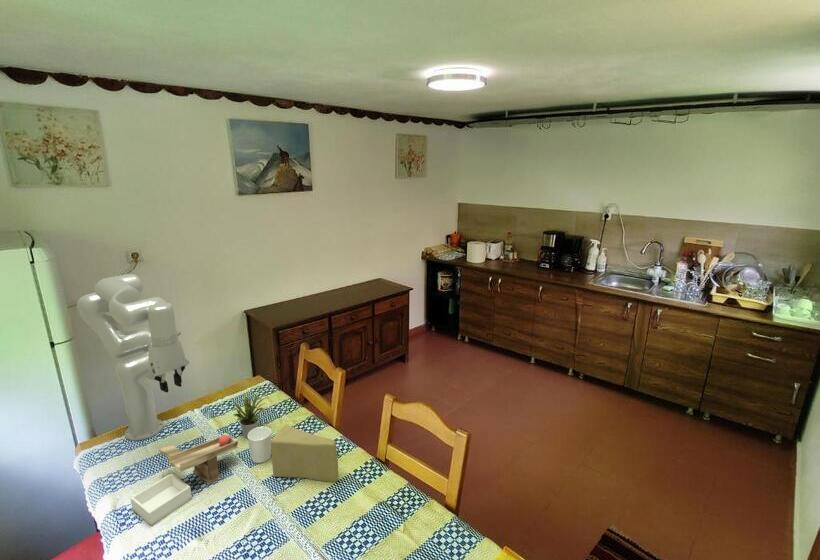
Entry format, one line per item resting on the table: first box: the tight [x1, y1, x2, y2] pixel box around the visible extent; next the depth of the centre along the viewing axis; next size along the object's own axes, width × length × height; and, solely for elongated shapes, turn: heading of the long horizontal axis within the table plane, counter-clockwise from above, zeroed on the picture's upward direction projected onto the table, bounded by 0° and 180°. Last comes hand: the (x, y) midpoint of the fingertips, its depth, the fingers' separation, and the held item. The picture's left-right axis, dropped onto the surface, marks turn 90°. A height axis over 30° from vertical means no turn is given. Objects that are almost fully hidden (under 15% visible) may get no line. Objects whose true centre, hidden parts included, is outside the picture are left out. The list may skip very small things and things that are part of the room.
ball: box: [219, 435, 230, 446], centre depth 142 cm, size 4×4×4 cm
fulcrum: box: [192, 455, 222, 485], centre depth 137 cm, size 10×4×9 cm, turn 59°
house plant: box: [229, 391, 269, 439], centre depth 157 cm, size 14×14×16 cm
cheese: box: [271, 424, 339, 483], centre depth 138 cm, size 22×10×15 cm, turn 75°
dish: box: [130, 473, 193, 527], centre depth 125 cm, size 11×12×4 cm
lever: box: [158, 432, 239, 472], centre depth 138 cm, size 16×20×4 cm
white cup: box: [247, 426, 272, 464], centre depth 146 cm, size 8×8×10 cm
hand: (171, 387), depth 140 cm, fingers open, 3 cm apart
